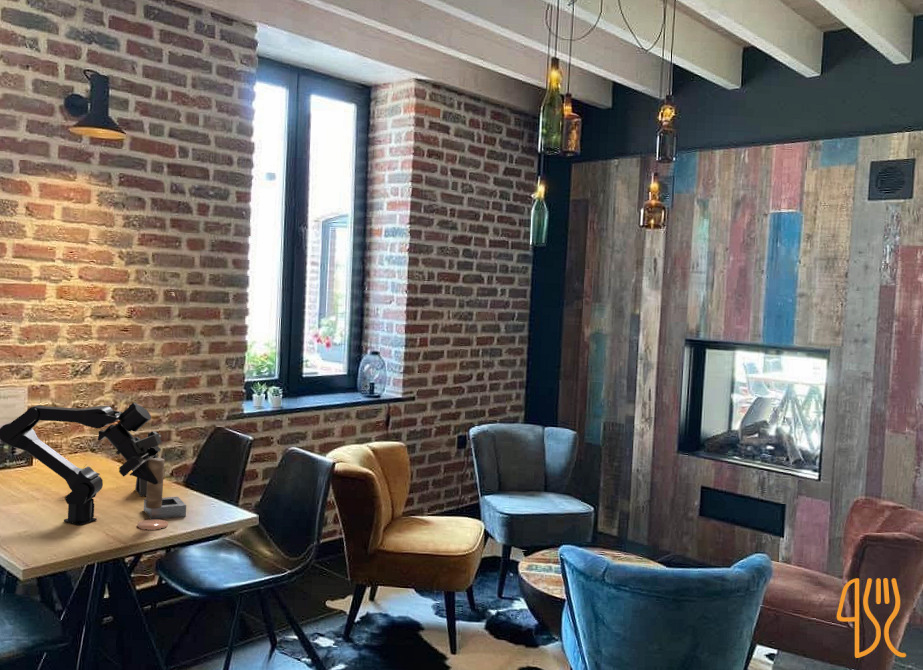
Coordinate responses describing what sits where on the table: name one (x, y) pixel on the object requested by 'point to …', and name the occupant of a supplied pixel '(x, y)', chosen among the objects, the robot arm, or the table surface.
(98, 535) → the table surface
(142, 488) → the door stopper
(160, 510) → the metal socket
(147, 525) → the terracotta coaster
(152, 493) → the walnut peg
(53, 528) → the table surface
